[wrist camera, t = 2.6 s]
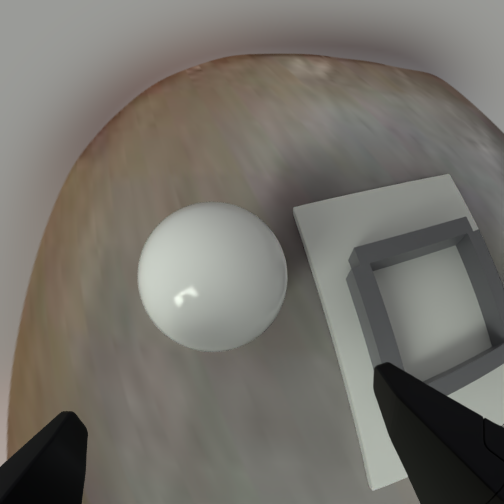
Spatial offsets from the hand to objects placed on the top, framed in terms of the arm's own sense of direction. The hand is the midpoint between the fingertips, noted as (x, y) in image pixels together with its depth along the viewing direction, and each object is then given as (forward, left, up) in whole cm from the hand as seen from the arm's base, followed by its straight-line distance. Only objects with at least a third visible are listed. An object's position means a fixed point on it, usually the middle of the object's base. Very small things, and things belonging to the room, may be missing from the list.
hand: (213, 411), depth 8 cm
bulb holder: (-7, -11, -12) cm, 17 cm away
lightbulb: (+4, -4, -12) cm, 13 cm away
